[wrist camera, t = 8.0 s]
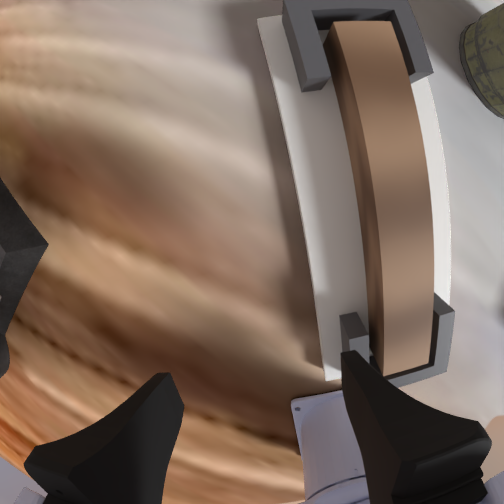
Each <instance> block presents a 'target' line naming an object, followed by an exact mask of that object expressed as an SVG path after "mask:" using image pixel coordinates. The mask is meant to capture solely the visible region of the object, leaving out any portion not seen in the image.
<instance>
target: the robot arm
mask: <svg viewBox="0 0 504 504" xmlns="http://www.w3.org/2000/svg"><path fill="white" fill-rule="evenodd" d="M340 356H341V378H342V390H340V391H335V392H330V393H325V394H320V395H314V396H309V397H303V398H296V399H293V400H292V401H291V409H292V413H293V418H294V423H295V428H296V433H297V438H298V443H299V448H300V453H301V458H302V460H303V471H304V486H305V502H302V503H299V504H504V471H503V472H501V473H499V474H497V475H496V476H494V477H492V478H491V479H489V480H488V481H487V482H486V483H485V484H484V483H483V481H482V479H481V478H482V477H483V472H482V470H481V468H480V466H481V465H482V463H483V461H484V460H485V458H486V456H487V455H488V453H489V451H490V448H491V445H492V441H491V439H490V437H489V436H488V434H487V432H486V431H485V429H484V428H483V427H482V426H481V424H480V423H479V422H478V421H474V420H470V419H465V418H461V417H457V416H454V415H450V414H447V413H444V412H442V411H439V410H437V409H434V408H432V407H430V406H428V405H425V404H423V403H421V402H419V401H417V400H415V399H414V398H412V397H410V396H409V395H407V394H406V393H404V392H403V391H401V390H400V389H398V388H397V387H396V386H394V385H393V384H392V383H390V382H389V381H388V380H387V379H385V378H384V377H383V376H382V375H381V374H380V373H379V372H377V371H376V370H375V369H374V368H373V367H372V366H371V365H370V364H369V363H368V362H367V361H366V360H365V359H364V358H363V357H362V356H361V355H360V354H359V353H358V351H356V350H351V351H346V352H341V353H340ZM296 407H299V408H296ZM183 411H184V404H183V402H182V399H181V397H180V395H179V393H178V390H177V388H176V386H175V383H174V381H173V379H172V376H171V374H170V373H157V374H156V375H154V376H153V377H152V378H151V379H150V380H149V381H147V382H146V383H145V384H144V385H143V386H142V387H141V388H140V389H139V390H137V391H136V392H135V393H134V394H133V395H132V396H131V397H129V398H128V399H127V400H126V401H125V402H123V403H122V404H121V405H120V406H118V407H117V408H116V409H115V410H113V411H112V412H111V413H109V414H108V415H106V416H105V417H104V418H102V419H100V420H99V421H97V422H96V423H94V424H92V425H90V426H89V427H87V428H85V429H83V430H81V431H79V432H77V433H75V434H72V435H70V436H68V437H65V438H62V439H60V440H57V441H54V442H50V443H46V444H42V445H38V446H35V447H34V449H33V450H32V452H31V453H30V455H29V456H28V458H27V459H26V461H25V462H24V467H25V470H26V471H27V473H28V474H29V475H30V476H31V477H32V478H33V479H34V480H35V481H36V482H37V483H38V484H39V485H40V486H41V487H42V488H43V489H44V490H45V491H46V492H47V493H48V495H47V496H46V498H45V497H43V496H42V495H40V494H38V493H36V492H34V491H32V490H30V489H28V488H26V487H24V488H23V489H22V491H21V493H20V494H19V496H18V498H17V499H16V501H15V502H14V504H161V503H162V496H163V488H164V482H165V477H166V471H167V468H168V464H169V461H170V458H171V455H172V452H173V448H174V445H175V442H176V439H177V436H178V433H179V430H180V427H181V423H182V417H183Z"/></svg>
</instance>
